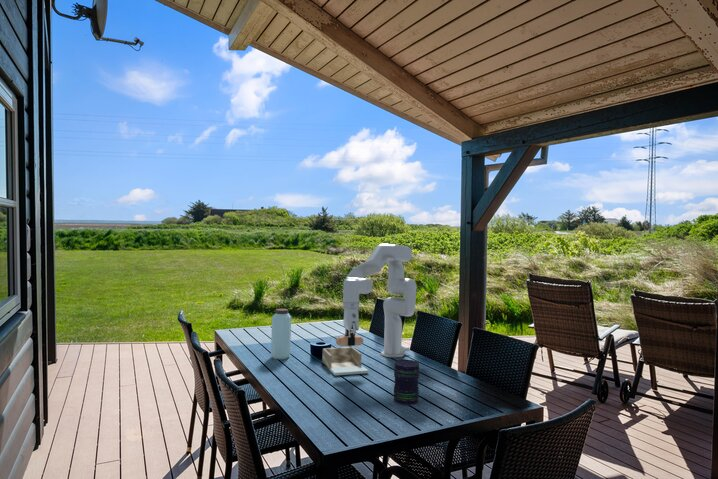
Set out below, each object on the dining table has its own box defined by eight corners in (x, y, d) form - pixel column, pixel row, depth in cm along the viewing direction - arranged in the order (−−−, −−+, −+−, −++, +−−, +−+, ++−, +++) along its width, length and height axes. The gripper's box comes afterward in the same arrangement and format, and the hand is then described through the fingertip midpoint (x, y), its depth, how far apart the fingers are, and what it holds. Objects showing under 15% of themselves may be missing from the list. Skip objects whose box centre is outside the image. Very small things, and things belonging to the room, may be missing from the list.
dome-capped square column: (361, 343, 215) (361, 335, 215) (364, 345, 211) (364, 337, 211) (334, 344, 210) (334, 336, 210) (337, 346, 206) (337, 338, 206)
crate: (352, 360, 232) (352, 346, 232) (361, 368, 219) (361, 353, 219) (322, 362, 227) (322, 348, 227) (329, 370, 214) (329, 355, 214)
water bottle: (266, 358, 232) (268, 309, 232) (278, 353, 241) (280, 307, 241) (282, 360, 228) (283, 311, 228) (294, 356, 237) (295, 309, 236)
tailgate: (362, 365, 218) (368, 370, 210) (362, 368, 218) (368, 373, 210) (329, 367, 213) (334, 372, 204) (329, 370, 213) (334, 375, 204)
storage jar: (402, 394, 183) (403, 350, 183) (423, 400, 177) (424, 355, 177) (388, 400, 176) (389, 355, 176) (409, 407, 169) (410, 359, 169)
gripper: (364, 308, 204) (363, 348, 204) (353, 302, 220) (351, 340, 220) (348, 308, 201) (347, 349, 201) (338, 303, 217) (337, 340, 217)
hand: (349, 344), depth 211 cm, fingers closed on dome-capped square column, 4 cm apart
